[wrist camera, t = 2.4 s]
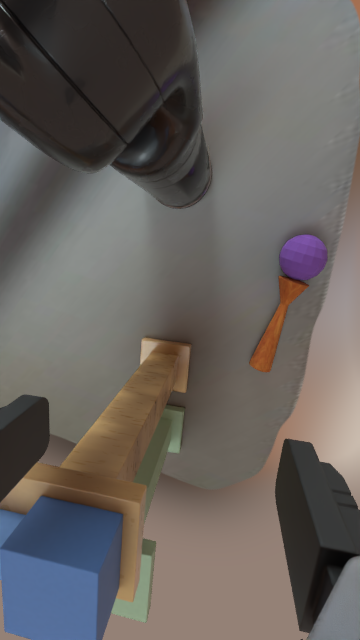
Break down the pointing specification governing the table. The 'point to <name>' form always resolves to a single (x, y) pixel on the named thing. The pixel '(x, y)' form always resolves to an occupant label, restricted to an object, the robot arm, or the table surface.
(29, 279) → the table surface
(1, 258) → the table surface
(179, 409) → the green pillar
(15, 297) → the table surface
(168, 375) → the tall stand
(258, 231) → the table surface
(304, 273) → the kendama
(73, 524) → the peg
